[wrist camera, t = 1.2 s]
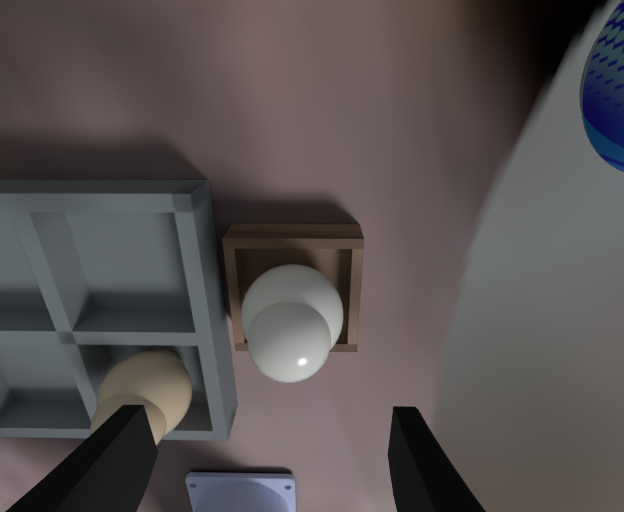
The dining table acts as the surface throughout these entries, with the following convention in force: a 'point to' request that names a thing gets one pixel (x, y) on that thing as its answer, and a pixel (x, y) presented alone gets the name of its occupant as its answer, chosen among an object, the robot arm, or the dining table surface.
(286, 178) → the dining table surface
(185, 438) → the egg tray
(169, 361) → the brown egg
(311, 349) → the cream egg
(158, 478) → the dining table surface
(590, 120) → the beer can
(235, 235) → the brown square tray
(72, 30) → the dining table surface
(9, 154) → the dining table surface
